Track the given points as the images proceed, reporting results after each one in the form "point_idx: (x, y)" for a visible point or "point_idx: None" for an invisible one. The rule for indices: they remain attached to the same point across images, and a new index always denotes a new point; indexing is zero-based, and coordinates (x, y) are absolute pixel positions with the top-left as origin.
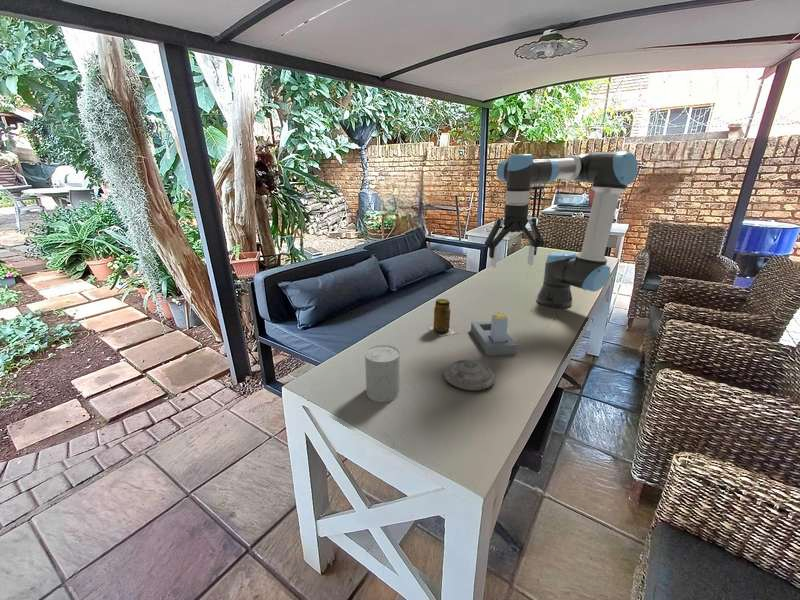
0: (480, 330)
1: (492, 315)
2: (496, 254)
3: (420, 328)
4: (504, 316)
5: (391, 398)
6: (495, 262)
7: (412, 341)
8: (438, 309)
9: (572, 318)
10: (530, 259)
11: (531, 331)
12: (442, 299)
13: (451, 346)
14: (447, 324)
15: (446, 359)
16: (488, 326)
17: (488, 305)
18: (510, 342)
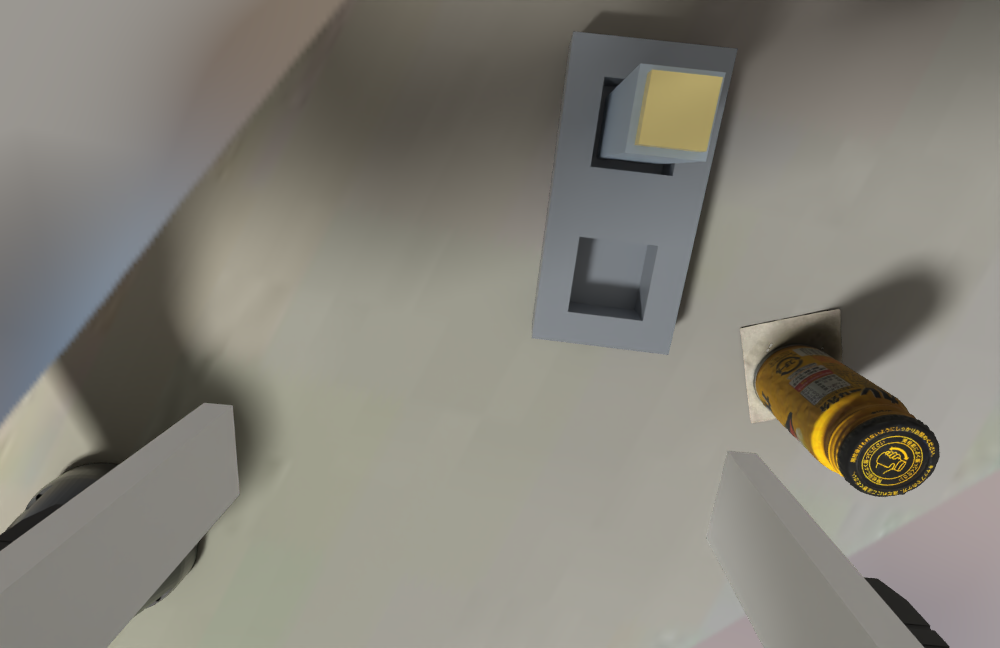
0: (674, 248)
1: (706, 156)
2: (844, 599)
3: None
4: (667, 71)
5: None
6: (771, 495)
7: (993, 291)
8: (908, 412)
9: (115, 351)
10: (188, 470)
11: (374, 264)
12: (875, 487)
13: (836, 198)
14: (798, 362)
15: (935, 68)
16: (588, 310)
17: (442, 565)
18: (594, 69)
